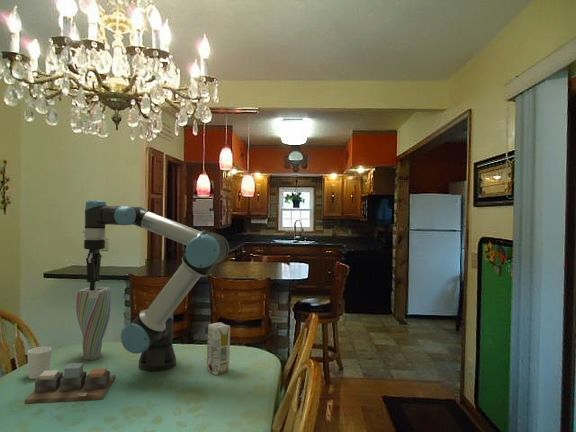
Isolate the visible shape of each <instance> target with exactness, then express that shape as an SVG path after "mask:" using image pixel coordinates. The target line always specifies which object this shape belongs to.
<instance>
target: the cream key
mask: <svg viewBox="0 0 576 432" xmlns="http://www.w3.org/2000/svg"><path fill="white" fill-rule="evenodd" d="M59 373H60V370H59V369H55V370H53V369H51V370H50V369H49V371H44V372H43V373H42V374H41V375H40V376H39V380H45V379H55V378H56V377H57V376H58V375H59Z"/></svg>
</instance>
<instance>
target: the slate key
mask: <svg viewBox="0 0 576 432" xmlns="http://www.w3.org/2000/svg"><path fill="white" fill-rule="evenodd" d="M83 372H84V362H82V363H80V362H78V363H68V364H67V365H66V366H65V367H64V371H63V376H64V379H69V378H80V377H81V376H82V374H83Z"/></svg>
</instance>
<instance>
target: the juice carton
mask: <svg viewBox="0 0 576 432" xmlns="http://www.w3.org/2000/svg"><path fill="white" fill-rule="evenodd" d="M230 347H231V325H228V324H225V323H223V322H213V323H208V327H207V348H206V349H207V351H206V352H207V353H206V370H207V371H208V372H210V373H212V375H215V376H218V375H222V374H223V375H224V374H226V373H229V372H230V369H229V368H230V352H231V351H230Z"/></svg>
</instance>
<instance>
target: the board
mask: <svg viewBox="0 0 576 432" xmlns="http://www.w3.org/2000/svg"><path fill="white" fill-rule="evenodd" d="M110 372H111V370H107V373H106V375H105V376H104V377H93V378H89V373H88V374H87V371H83V374H82V376H81V377H80V378H69V379H64V371H63V372H59V375H58V376H57V377H56V378H55V379H45V380H39V377H38V378H37V379H34V390H33V391H32V392H31V393H30V394H29V395H28V396H27V397H26V398H25V399H24V404H37V403H38V404H39V403H40V404H41V403H57V402H58V403H59V402H60V403H61V402H78V401H79V402H80V401H82V402H83V401H97V400H98V401H99V400H103V399H104V398H105V396H106V395H107V392H108V391H109V389H110V388H111V386H112V384H113V382H114V381H115V379H116V375H114V374H113V375H110V374H111V373H110Z"/></svg>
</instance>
